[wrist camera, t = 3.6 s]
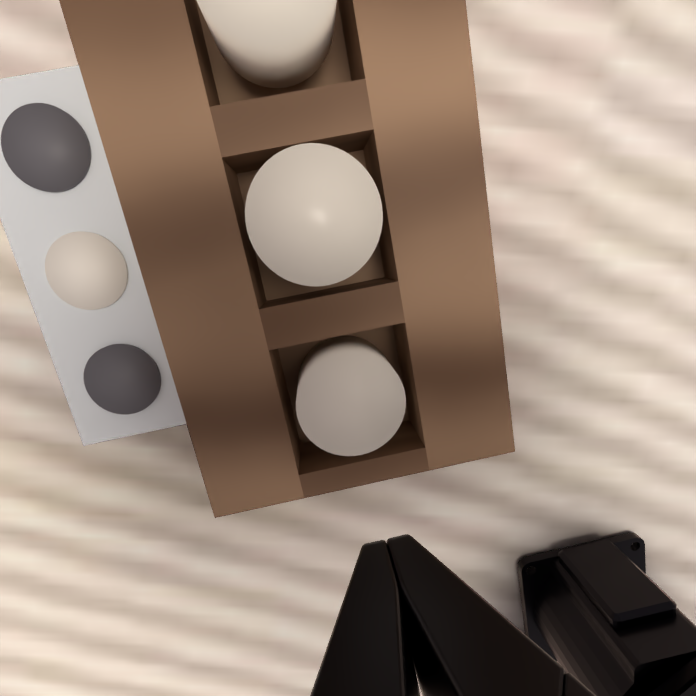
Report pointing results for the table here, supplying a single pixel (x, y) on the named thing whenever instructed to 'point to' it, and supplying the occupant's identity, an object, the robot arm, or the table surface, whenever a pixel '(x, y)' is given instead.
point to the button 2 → (349, 396)
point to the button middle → (313, 214)
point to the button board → (265, 285)
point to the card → (80, 259)
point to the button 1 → (272, 37)
